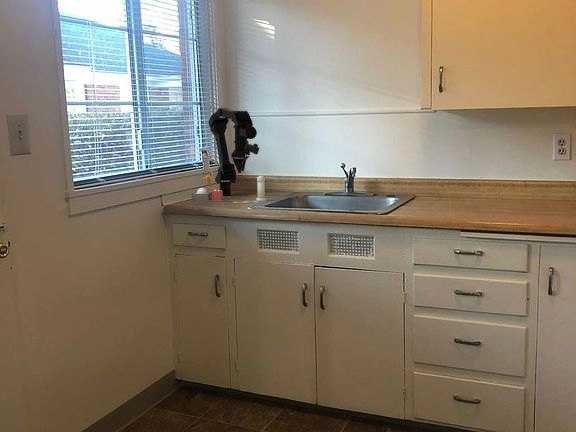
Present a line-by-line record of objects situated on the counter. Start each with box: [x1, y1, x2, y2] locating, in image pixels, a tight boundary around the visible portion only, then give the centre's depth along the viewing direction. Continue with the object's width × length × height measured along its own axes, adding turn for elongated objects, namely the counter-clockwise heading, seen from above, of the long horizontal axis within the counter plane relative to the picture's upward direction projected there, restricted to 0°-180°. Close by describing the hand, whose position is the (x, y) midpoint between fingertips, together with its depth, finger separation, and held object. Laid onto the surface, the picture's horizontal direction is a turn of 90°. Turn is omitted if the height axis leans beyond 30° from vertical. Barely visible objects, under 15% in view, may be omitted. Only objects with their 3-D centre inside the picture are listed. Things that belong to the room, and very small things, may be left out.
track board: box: [233, 199, 267, 204], centre depth 284 cm, size 16×6×1 cm, turn 116°
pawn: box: [255, 175, 267, 203], centre depth 285 cm, size 5×5×11 cm
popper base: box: [190, 189, 229, 205], centre depth 289 cm, size 9×15×6 cm, turn 86°
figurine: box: [201, 173, 218, 192], centre depth 299 cm, size 8×6×12 cm
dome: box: [195, 187, 209, 194], centre depth 289 cm, size 6×6×5 cm
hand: (241, 172), depth 296 cm, fingers open, 9 cm apart
